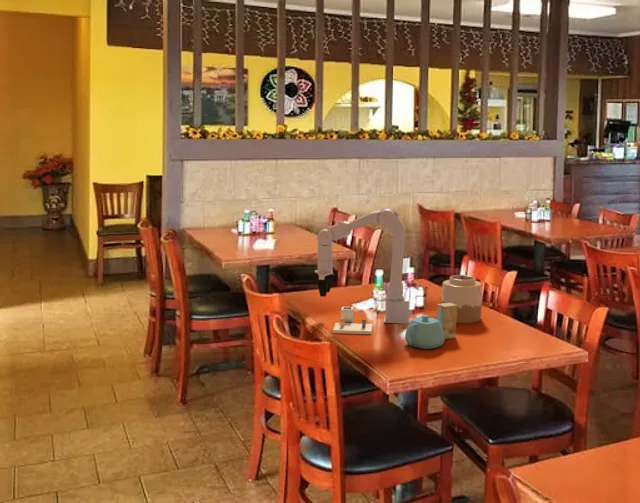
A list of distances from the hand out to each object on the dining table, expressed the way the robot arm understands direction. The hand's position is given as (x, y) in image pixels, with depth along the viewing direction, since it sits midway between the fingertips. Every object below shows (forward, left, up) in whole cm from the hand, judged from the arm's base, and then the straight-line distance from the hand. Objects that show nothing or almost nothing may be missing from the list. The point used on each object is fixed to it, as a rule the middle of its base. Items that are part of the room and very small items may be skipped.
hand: (325, 294), depth 292 cm
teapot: (-39, +30, -10) cm, 50 cm away
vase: (-53, -7, -10) cm, 55 cm away
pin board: (-12, +15, -10) cm, 22 cm away
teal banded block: (-9, +6, -10) cm, 15 cm away
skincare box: (-46, +20, -10) cm, 51 cm away
